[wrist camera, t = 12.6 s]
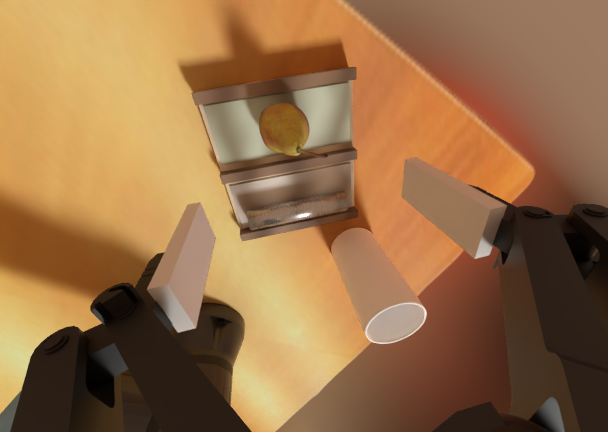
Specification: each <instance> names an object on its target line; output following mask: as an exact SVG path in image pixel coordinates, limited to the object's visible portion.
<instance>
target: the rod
mask: <svg viewBox="0 0 608 432" xmlns="http://www.w3.org/2000/svg"><path fill="white" fill-rule="evenodd" d="M347 210H348V199H347V195H346V193H345V191H344V190H342V191H337V192H332V193H327V194H322V195H317V196H312V197H307V198H302V199H297V200H292V201H287V202H282V203H277V204H272V205H267V206H262V207H257V208H252V209H247V219H248V223H249V227H250V229H251V230H255V229H260V228H265V227H270V226H275V225H279V224H284V223H289V222H294V221H299V220H304V219H308V218H313V217H318V216H323V215H328V214H333V213H338V212H342V211H347Z"/></svg>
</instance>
